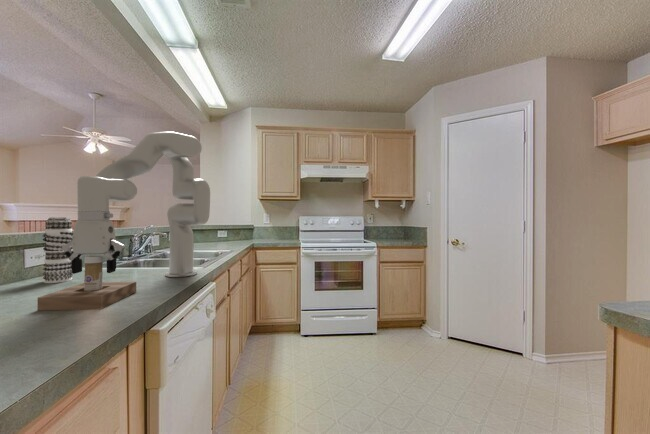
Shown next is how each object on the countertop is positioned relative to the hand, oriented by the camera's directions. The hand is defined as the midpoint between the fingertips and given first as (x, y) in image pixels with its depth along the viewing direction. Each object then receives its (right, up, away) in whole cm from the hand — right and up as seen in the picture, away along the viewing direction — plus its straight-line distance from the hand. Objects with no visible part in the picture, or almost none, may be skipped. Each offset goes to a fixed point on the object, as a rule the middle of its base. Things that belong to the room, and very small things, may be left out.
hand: (94, 272), depth 88 cm
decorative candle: (-34, -8, +25) cm, 43 cm away
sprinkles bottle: (0, -9, 0) cm, 9 cm away
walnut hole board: (0, -8, 0) cm, 8 cm away
